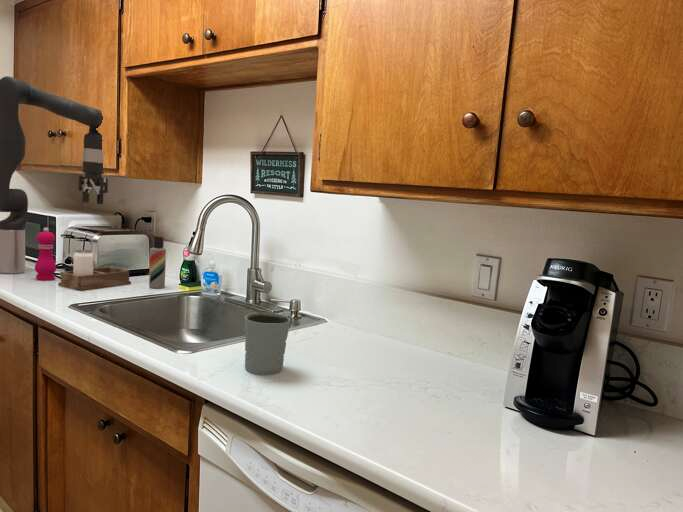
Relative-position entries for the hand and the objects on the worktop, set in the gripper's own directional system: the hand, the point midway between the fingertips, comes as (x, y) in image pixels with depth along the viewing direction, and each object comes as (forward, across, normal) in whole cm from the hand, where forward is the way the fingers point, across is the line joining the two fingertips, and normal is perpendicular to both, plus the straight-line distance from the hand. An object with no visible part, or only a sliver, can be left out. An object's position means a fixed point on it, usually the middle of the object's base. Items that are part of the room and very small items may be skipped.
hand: (92, 203), depth 200 cm
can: (+29, +11, -11) cm, 33 cm away
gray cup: (+30, +114, -37) cm, 124 cm away
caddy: (+30, +11, -6) cm, 33 cm away
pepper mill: (+30, -9, -13) cm, 34 cm away
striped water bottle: (+30, +28, +8) cm, 42 cm away
